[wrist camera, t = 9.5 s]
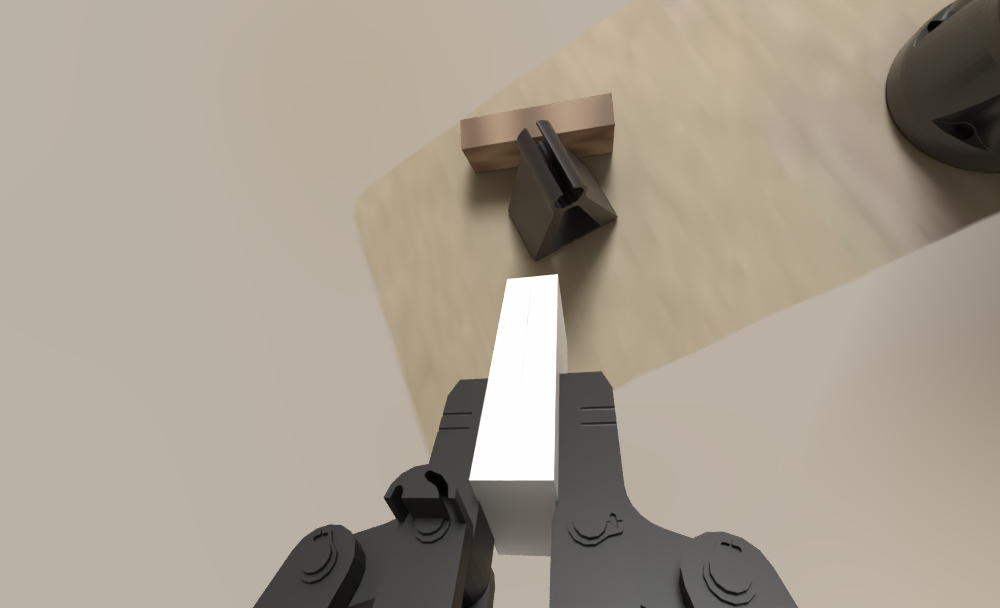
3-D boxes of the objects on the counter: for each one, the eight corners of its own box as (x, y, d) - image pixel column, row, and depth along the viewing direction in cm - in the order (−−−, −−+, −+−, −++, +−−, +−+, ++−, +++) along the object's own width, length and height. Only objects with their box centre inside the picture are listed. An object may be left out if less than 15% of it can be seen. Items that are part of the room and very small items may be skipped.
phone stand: (588, 168, 43) (586, 92, 31) (617, 218, 42) (626, 158, 30) (508, 211, 44) (477, 154, 32) (534, 262, 43) (511, 220, 31)
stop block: (609, 124, 43) (611, 93, 38) (612, 152, 43) (614, 123, 38) (474, 146, 46) (460, 120, 41) (475, 173, 45) (461, 149, 41)
